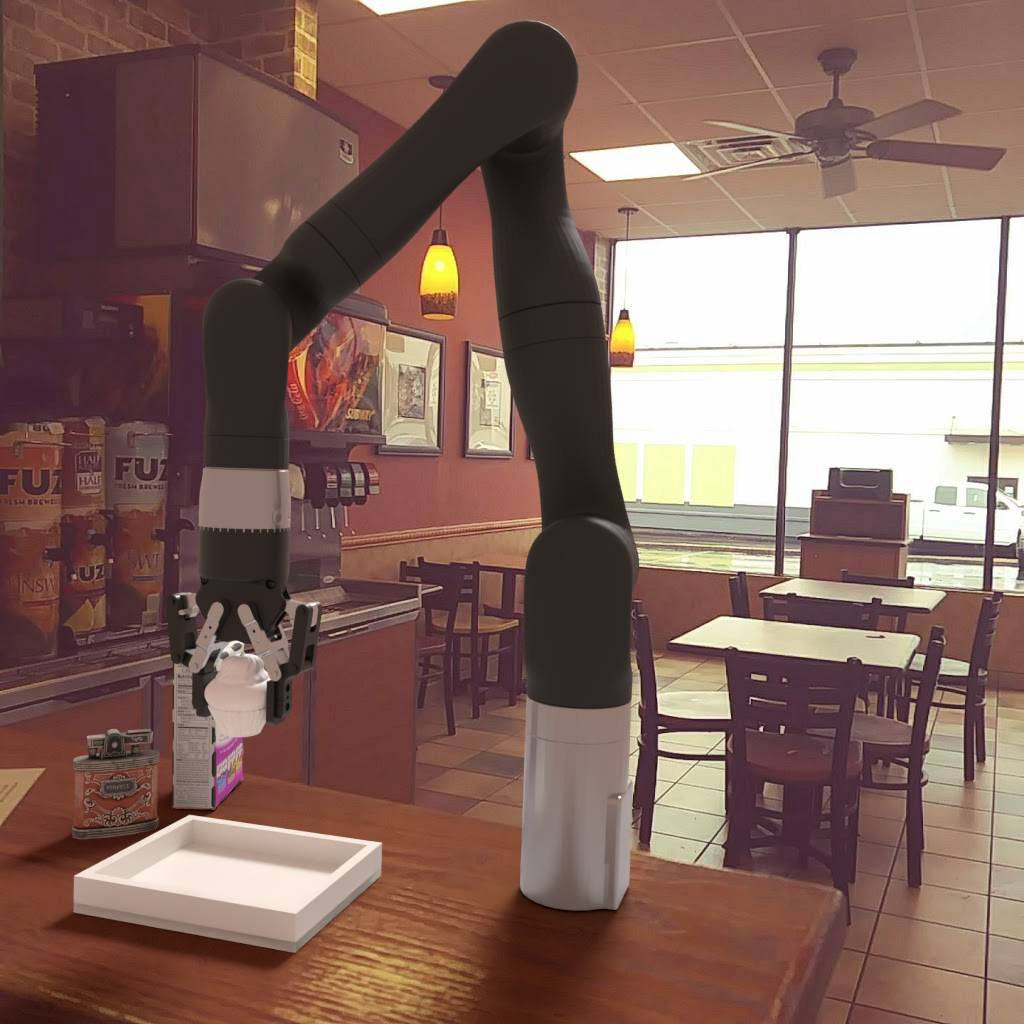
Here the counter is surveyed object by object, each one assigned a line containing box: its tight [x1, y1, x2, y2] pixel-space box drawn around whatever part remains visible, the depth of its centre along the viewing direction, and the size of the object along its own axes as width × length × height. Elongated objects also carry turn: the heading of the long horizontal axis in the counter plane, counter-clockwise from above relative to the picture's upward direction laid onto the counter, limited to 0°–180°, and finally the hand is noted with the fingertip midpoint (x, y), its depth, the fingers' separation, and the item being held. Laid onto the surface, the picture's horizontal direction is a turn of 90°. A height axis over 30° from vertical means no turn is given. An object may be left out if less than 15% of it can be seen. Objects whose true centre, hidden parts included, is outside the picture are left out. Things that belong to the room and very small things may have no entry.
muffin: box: [204, 651, 271, 738], centre depth 88 cm, size 6×6×7 cm
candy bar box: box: [171, 641, 246, 809], centre depth 114 cm, size 11×5×16 cm, turn 179°
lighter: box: [71, 728, 161, 840], centre depth 102 cm, size 8×3×10 cm, turn 118°
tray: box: [72, 814, 383, 954], centre depth 89 cm, size 20×16×3 cm
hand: (240, 718), depth 88 cm, fingers closed on muffin, 6 cm apart
